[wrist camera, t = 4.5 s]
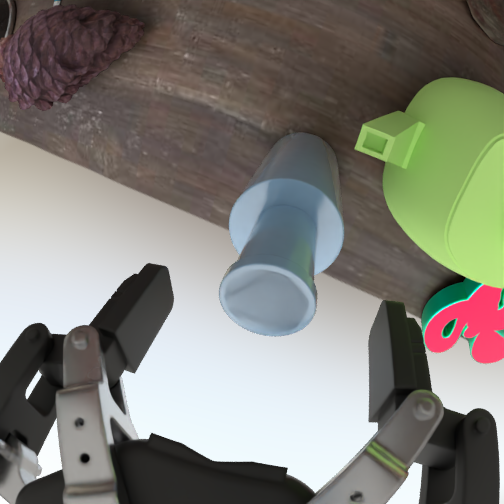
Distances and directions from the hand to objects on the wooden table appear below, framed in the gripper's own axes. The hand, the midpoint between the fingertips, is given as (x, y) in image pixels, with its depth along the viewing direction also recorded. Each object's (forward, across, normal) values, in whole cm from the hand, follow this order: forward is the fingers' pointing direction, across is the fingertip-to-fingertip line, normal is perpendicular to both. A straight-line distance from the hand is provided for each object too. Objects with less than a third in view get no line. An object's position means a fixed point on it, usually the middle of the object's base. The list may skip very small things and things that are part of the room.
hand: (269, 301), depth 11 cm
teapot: (+16, -12, -3) cm, 21 cm away
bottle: (+16, 0, 0) cm, 16 cm away
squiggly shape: (+15, -23, +9) cm, 29 cm away
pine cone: (+16, +21, -12) cm, 29 cm away
